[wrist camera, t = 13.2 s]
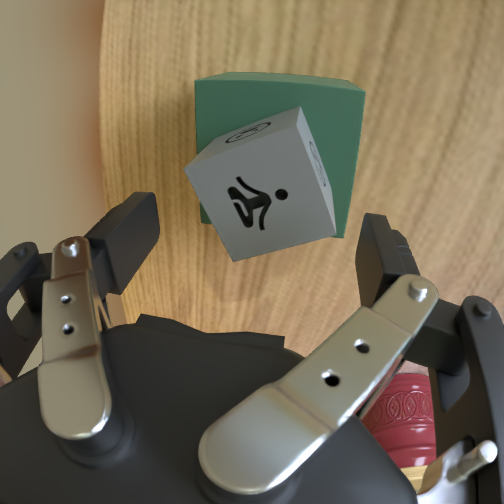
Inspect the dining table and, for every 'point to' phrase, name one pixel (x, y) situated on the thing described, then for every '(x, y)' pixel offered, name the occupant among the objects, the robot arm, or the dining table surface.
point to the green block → (282, 99)
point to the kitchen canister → (405, 424)
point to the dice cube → (264, 186)
